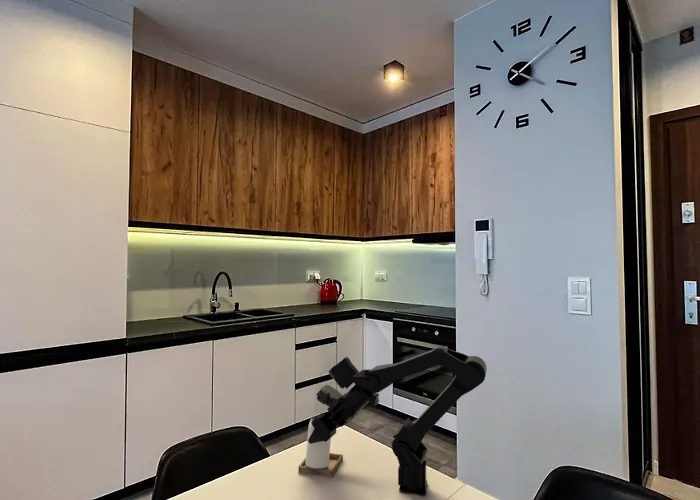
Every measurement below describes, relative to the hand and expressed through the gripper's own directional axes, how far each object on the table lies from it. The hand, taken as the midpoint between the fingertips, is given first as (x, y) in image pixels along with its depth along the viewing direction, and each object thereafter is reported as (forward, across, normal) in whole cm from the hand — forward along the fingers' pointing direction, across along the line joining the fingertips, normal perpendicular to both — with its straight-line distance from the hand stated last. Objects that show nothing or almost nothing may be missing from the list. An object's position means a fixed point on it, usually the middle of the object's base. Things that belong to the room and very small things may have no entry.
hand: (317, 435), depth 108 cm
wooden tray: (+5, 0, +7) cm, 8 cm away
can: (+4, +2, +6) cm, 8 cm away
